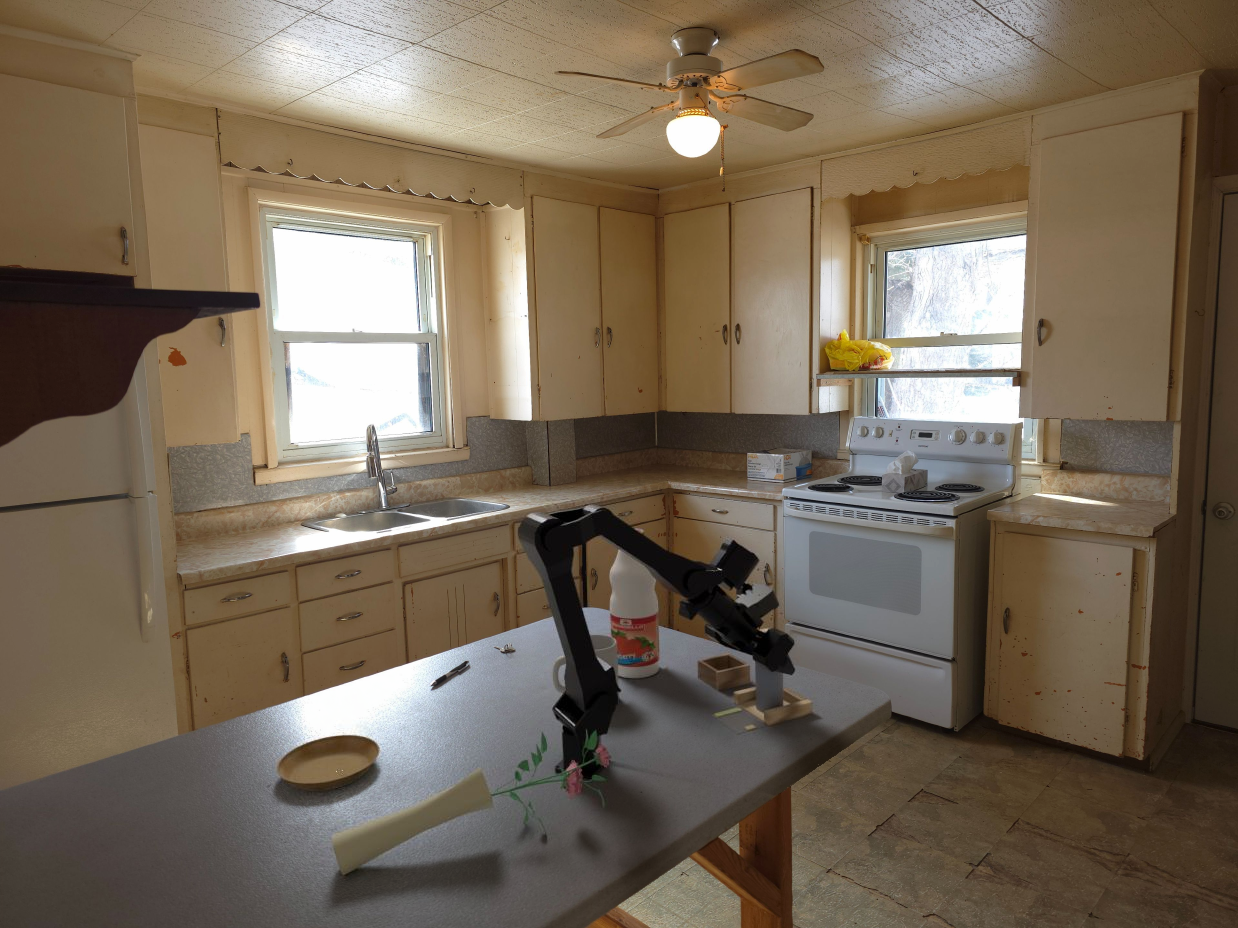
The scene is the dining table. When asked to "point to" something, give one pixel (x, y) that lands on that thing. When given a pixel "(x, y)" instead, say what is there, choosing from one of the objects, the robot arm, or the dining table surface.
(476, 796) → the flower vase
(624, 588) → the fruit juice
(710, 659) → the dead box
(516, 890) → the dining table surface
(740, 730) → the pad
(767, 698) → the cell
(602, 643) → the mug
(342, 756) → the plant saucer
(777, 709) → the light wooden tray
